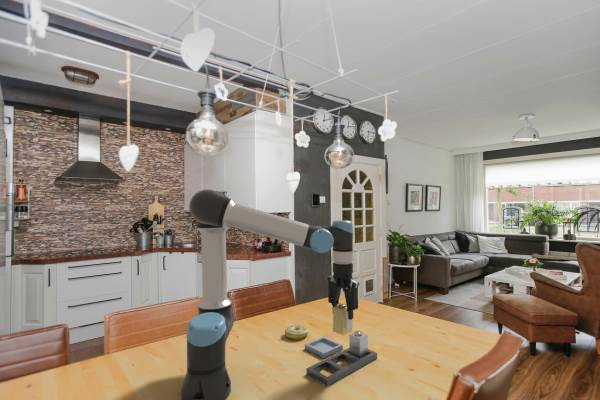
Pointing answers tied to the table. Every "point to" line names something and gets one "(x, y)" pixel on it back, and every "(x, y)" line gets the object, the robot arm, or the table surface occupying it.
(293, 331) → the decorated donut
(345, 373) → the rail
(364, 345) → the grey knobbed block
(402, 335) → the table surface
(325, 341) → the parts tray
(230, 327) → the robot arm
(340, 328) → the gold block with knob
